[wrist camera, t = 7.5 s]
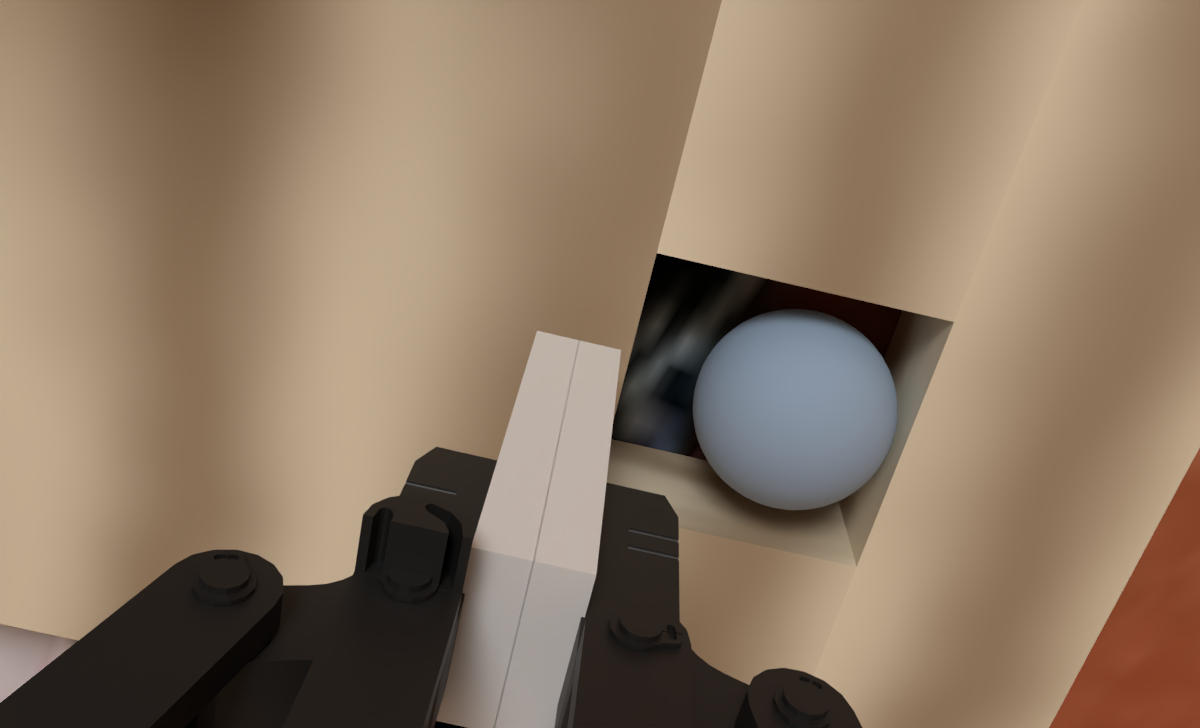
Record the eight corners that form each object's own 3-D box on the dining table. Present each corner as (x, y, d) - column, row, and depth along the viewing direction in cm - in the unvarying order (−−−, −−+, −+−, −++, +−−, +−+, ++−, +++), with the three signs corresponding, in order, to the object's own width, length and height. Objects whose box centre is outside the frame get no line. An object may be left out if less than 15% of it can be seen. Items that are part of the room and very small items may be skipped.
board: (-141, 500, 26) (-238, 573, 23) (-225, -362, 18) (-383, -407, 15) (957, 738, 27) (990, 835, 24) (1312, 16, 19) (1418, 37, 16)
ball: (634, 457, 22) (765, 570, 19) (679, 281, 20) (830, 377, 17) (766, 431, 24) (900, 528, 21) (817, 271, 22) (968, 355, 20)
